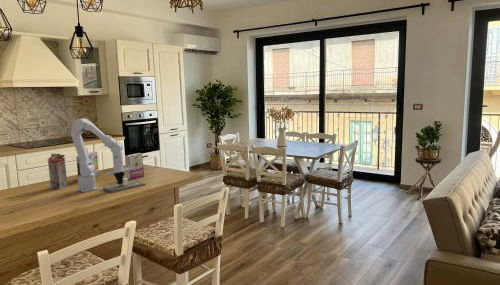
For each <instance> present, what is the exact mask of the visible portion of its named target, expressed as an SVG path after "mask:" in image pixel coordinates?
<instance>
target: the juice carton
mask: <svg viewBox="0 0 500 285" xmlns="http://www.w3.org/2000/svg"><path fill="white" fill-rule="evenodd" d="M50 155H51V156H50V157H49V158H48V159H47V162H48V163H47V164H48V172H49V174H48V175H49V181H50V182H49V183H50V189H51V190H62V189H64V188H66V187H68V180H67V179H68V177H67V170H66V169H67V168H66V159H65V157H63V156H62V155H61V153H50Z"/></svg>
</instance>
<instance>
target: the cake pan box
mask: <svg viewBox="0 0 500 285" xmlns="http://www.w3.org/2000/svg"><path fill="white" fill-rule="evenodd" d="M87 154H88V157H89V159H90V160H91V161H92V164H93V165H94V166H95V171H94V174H95V178H96V177H98V176H99V174H100V173H99V160H98V158H99V157H98V156H99V155H98V151H90V152H87ZM75 159H76V167H77V168H76V169H77V179H78V178H79V177H81V176H82V175H81V174H80V166H79V165H80V160H79V157H78V155H77V156H76V158H75Z"/></svg>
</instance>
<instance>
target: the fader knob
mask: <svg viewBox="0 0 500 285" xmlns="http://www.w3.org/2000/svg"><path fill="white" fill-rule="evenodd" d="M128 182H129V179H127V177H123V179H122V184H121V185H123V186H126V185H128Z"/></svg>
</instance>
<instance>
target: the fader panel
mask: <svg viewBox="0 0 500 285" xmlns="http://www.w3.org/2000/svg"><path fill="white" fill-rule="evenodd" d="M143 186H146V183H145V182H142V181H139V180H135V179H134V180H131V181H128V185H126V186H123V185H119V184H118V183H116V184H112V185H107V186H103V187H102V189H103V190H105V191H106V192H109V193H112V194H113V193H117V192H122V191H126V190H129V189H133V188H134V189H135V188H140V187H143Z"/></svg>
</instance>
